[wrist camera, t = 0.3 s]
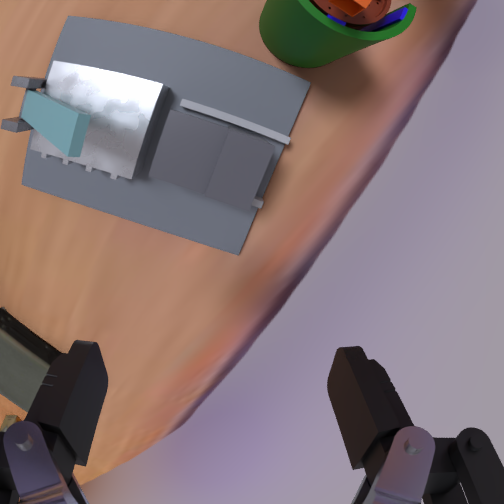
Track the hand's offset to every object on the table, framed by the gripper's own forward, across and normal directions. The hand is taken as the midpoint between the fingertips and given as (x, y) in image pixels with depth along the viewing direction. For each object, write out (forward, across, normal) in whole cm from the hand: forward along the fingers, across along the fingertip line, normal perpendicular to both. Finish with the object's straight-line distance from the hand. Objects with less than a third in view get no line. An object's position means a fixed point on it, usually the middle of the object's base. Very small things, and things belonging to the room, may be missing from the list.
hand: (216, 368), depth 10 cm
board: (+29, +9, -6) cm, 31 cm away
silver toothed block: (+28, +15, -8) cm, 32 cm away
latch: (+28, +1, -4) cm, 28 cm away
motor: (+29, -8, -18) cm, 35 cm away
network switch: (+29, +36, +34) cm, 58 cm away
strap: (+19, +15, -8) cm, 25 cm away
